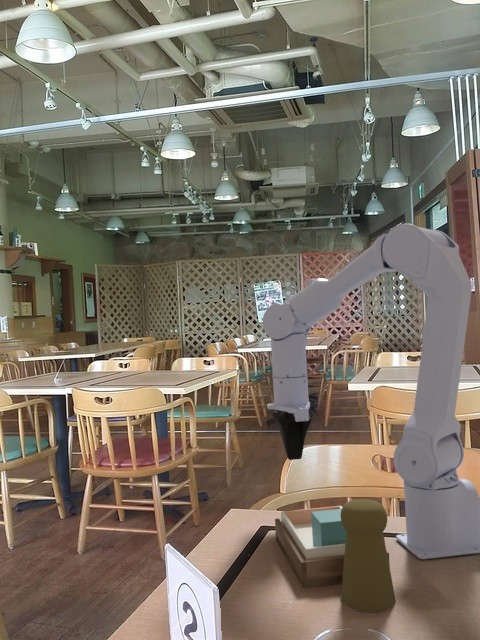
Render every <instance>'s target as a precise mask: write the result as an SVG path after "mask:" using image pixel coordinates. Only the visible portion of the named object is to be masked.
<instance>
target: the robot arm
mask: <svg viewBox="0 0 480 640" xmlns="http://www.w3.org/2000/svg"><path fill="white" fill-rule="evenodd" d="M389 272H390V273H392V272H394V273H395V272H398V273H399V274H402V275H403V276H405V277H407V278H409V279H410V280H412V281H413V282H414V283H415V284H416V286H417V287H418V288H419V289H420V290H421V291H422V292H423V293H424V294H425V295H426V296H427V306H426V314H425V321H424V327H423V334H422V335H423V337H422V343H421V344H422V345H421V353H420V359H419V368H418V376H417V384H416V390H415V391H416V392H415V398H414V400H415V401H414V407H413V412H412V413H411V415H410V417H409V418H408V420H407V422H406V423H405V425H404V427H403V432H402V433H403V434H402V437H401V440H400V442H399V443H398V444H397V446H396V447H395V449H394V452H393V458H392V459H393V465H394V468H395V470H396V472H397V474H398V475H399V476H400V478H401V479H403V490H404V491H403V492H404V494H403V495H404V509H405V527H406V529H405V530H406V531H405V532H406V533H402V534H397V535H396V536H395V538H396V540H397V541H398V542H400V544H402V545H403V546H404V547H405V548H406V549H407V550H409V551H410V552H411V554H413V555H414V556H415V557H416V558H417V559H420V560H430V559H438V558H447V557H455V556H456V557H457V556H462V555H472V554H480V496H479V492H478V490H477V487H476V486H475V485H474V483H473V482H472V481H470V480H469V479H468V478H459V476H458V473H457V469H458V468H459V467H460V466H461V465H462V463H463V460H464V457H465V450H464V446H463V443H462V440H461V426H462V425H461V423H460V422H459V420H458V418H457V417H456V407H457V402H458V401H457V400H458V394H459V385H460V377H461V371H462V364H463V356H464V350H465V349H464V348H465V342H466V336H467V335H466V334H467V327H468V321H469V313H470V306H471V305H470V304H471V299H472V298H471V296H472V289H473V288H472V282H471V279H470V277H469V275H468V273H467V270H466V268H465V266H464V264H463V261H462V259H461V256H460V246H459V245H458V244H457V243H456V242H455V240H453V239H452V238H450V236H448V235H447V233H445V232H443V231H442V230H438V229H429V228H425V227H420V226H417V225H414V224H412V223H403V224H402V223H401V224H397V225H396V226H393V228H392V229H390V230H389V231H388V233H384V234H382V235H380V236H378V237H377V238H376V240H375V241H374V242H373V243H372V244H371V245H370V246H369V247H368V248H367V249H366V250H365V251H362V253H361V254H359V255H358V256H357V257H355V258H354V259H352V261H351V262H349V263H348V264H347V265H345V266H344V267H343V268H342V269H340V270H339V271H338V272H336V274H334V275H333V276H332V277H330V278H329V279H328V278H327V279H326V278H323V277H318V278H311V279H309V280H307V281H306V286H305V287H303V288H302V289H301V290H300V291H298V292H297V293H296V294H294V295H293V294H291V295H289V296H288V297H286V301H285V302H284V303H280V302H276V303H272V304H270V306H269V307H268V308H267V309H266V310H265V311H264V313H263V317H262V327H263V330H264V332H265V334H266V336H268V337H269V339H270V348H271V349H270V351H271V364H272V365H271V367H272V370H271V371H272V383H273V384H272V386H273V403H267V406H266V407H267V408H266V409H268V410H276V411H281V412H283V413H282V415H274V416H273V420H274V421H275V423H276V425H277V427H278V429H279V432H280V436H281V438H282V442H283V447H284V451H285V454H286V458H287V459H288V460H289V461H295V460H302V458H303V452H304V445H305V438H306V435H307V432H308V429H309V428H310V425H311V423H312V417H311V416H310V415H309V413H310V412H309V410H310V408H311V402H310V400H309V383H308V380H309V379H308V368H307V365H308V363H307V344H308V335H309V333H310V331H311V329H312V327H313V326H314V325H316V324H318V323H319V322H320V321H323V319H325V318H326V317H328V316H329V315H331V314H332V313H334V312H335V311H337V310H339V309H340V307H341V305H342V300H343V297H345V296H347V295H348V294H349V293H351V292H353V291H355V290H356V289H358V288H360V287H361V286H363V285H365V284H366V283H368V282H370V281H371V280H374V278H376V277H378V276H380V275H381V274H383V273H389Z"/></svg>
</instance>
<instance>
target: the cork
mask: <svg viewBox="0 0 480 640" xmlns="http://www.w3.org/2000/svg"><path fill="white" fill-rule="evenodd" d="M342 507H343V508H342V510H341V514H340V515H341V522H342V525H343V528H344V529H345V530H346V542H345V555H344V568H343V581H342V583H341V594H340V598H341V602H342V603H343V604H344V605H345V607H348V608H350V609H352V610H356V611H358V612H362V613H363V612H364V613H365V612H366V613H379V612H384V611H386V610H387V611H388V610H390V609H392V608H393V607H394V606H395V604H396V600H397V599H396V595H395V594H396V593H395V591H394V590H395V589H394V584H393V578H392V574H391V566H390V567H389V564H390V561H389V562H388V556H387V552H388V551H387V547H386V540H385V535H384V531H385V529H386V528H387V523H388V514H387V511H386V509H385V507H384V506H383V504H382V503H381V502H378V501H376V500H373V499H368V498H367V499H366V498H358V499H351V500H349V501H347V502H345V503H344V504H343V506H342Z"/></svg>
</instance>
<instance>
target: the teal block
mask: <svg viewBox="0 0 480 640" xmlns="http://www.w3.org/2000/svg"><path fill="white" fill-rule="evenodd" d="M341 510H342V509H334V510H324V511H314V512H311V517H312V536H313V546H314V547H319V546H328V545H338V544H345V542H346V530H345V529H344V528H343V525H342V522H341V515H340V514H341Z"/></svg>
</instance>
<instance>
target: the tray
mask: <svg viewBox="0 0 480 640" xmlns="http://www.w3.org/2000/svg"><path fill="white" fill-rule="evenodd" d="M342 508H343V506H342V505H335V506H324V507H323V506H322V507H314V508H313V507H312V508H305V509H294V510H291V509H290V510H283V511H282V510H281V511H280V521H281V523H282V524H283V526H284V527H285V529H286V531H287V532H288V534H289V535H290V537H291V539H292V540H293V542H294V543H295V545H296V547H297V548H298V550H299V551H300V553H301V554H302V556H303V558H304V559H313V558H322V557H331V556H340V555H345V544H338V545H328V546H319V547H314V546H313V536H312V517H311V512H314V511H324V510H334V509H342Z"/></svg>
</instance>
